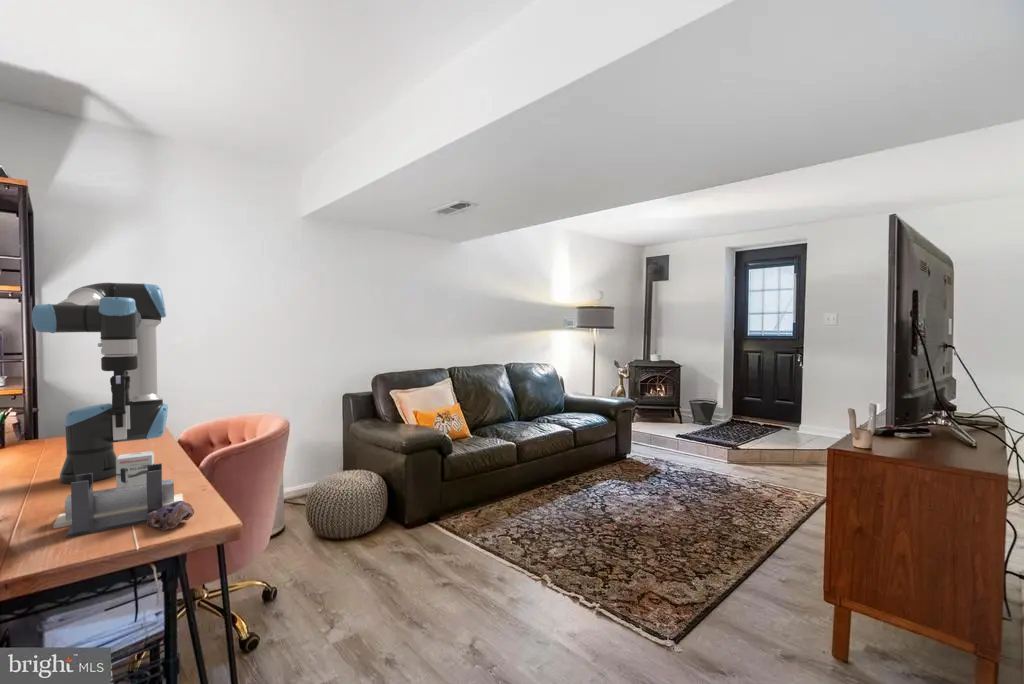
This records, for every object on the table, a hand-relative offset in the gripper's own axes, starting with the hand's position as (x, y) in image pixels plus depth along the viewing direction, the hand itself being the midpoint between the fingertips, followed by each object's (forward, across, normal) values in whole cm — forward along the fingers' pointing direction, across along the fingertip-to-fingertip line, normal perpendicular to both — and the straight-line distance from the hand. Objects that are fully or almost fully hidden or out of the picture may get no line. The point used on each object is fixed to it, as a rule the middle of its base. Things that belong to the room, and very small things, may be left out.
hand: (122, 434), depth 129 cm
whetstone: (+19, +3, 0) cm, 19 cm away
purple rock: (+20, +21, +10) cm, 31 cm away
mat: (+20, +3, 0) cm, 20 cm away
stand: (+20, +12, 0) cm, 23 cm away
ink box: (+21, -12, +2) cm, 24 cm away
